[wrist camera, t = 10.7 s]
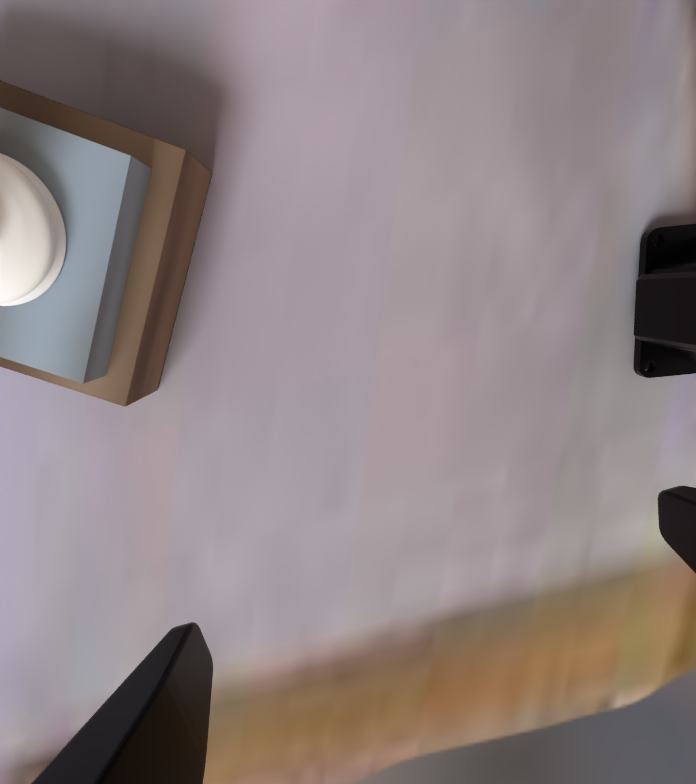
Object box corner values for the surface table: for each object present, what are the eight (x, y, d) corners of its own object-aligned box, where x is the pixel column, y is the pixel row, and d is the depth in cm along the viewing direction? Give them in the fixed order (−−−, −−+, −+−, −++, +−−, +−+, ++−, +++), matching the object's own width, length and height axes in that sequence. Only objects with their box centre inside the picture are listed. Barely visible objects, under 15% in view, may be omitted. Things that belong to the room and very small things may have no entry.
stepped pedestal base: (211, 172, 18) (168, 134, 14) (157, 389, 20) (104, 417, 16) (-27, 84, 17) (-155, 13, 13) (-57, 320, 19) (-175, 328, 15)
